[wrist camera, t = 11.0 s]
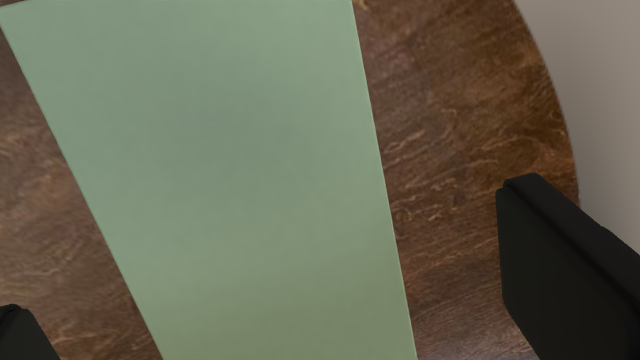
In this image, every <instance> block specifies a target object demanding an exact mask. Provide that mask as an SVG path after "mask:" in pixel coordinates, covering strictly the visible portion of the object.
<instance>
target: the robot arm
mask: <svg viewBox="0 0 640 360" xmlns="http://www.w3.org/2000/svg"><path fill="white" fill-rule="evenodd" d="M496 210H497V224H498V239H499V253H500V267H501V281H502V295H503V300H504V304H505V306H506V309H507V311H508V313H509V314H510V316H511V317H512V319H513V320H514V322H515V323H516V325H517V326H518V328H519V329H520V331H521V332H522V334H523V335H524V336H525V338H526V339H527V341H528V342H529V344H530V345H531V347H532V348H533V350H534V351H535V353H536V354H537V356H538V357H539V359H540V360H640V255H639V254H638V253H636V252H635V251H634V250H633V249H632V248H630V247H629V246H628V245H627V244H625V243H624V242H623V241H622V240H620V239H619V238H618V237H617V236H615V235H614V234H613V233H612V232H610V231H609V230H608V229H606V228H604V227H602V226H600V225H599V224H598V223H597V222H595V221H594V220H593V219H592V218H591V217H589V216H588V215H587V214H586V213H585V212H583V211H582V210H581V209H580V208H579V207H577V206H576V205H575V204H574V203H573V202H571V201H570V200H569V199H568V198H566V197H565V196H564V195H563V194H562V193H560V192H559V191H558V190H557V189H556V188H554V187H553V186H552V185H551V184H550V183H548V182H547V181H546V180H545V179H543V178H542V177H541V176H540V175H539V174H537V173H529V174H525V175H521V176H517V177H513V178H510V179H506V180H505V181H504V184H503V188H500V189H497V190H496ZM0 360H61V359H60V358H59V356H58V355H57V353H56V351H55V350H54V348H53V347H52V345H51V343H50V342H49V340H48V339H47V337H46V335H45V334H44V332H43V330H42V329H41V327H40V326H39V324H38V322H37V321H36V319H35V318H34V316H33V314H32V313H31V312H30V311H29V310H27V309H22V308H21V307H20V306H18V305H16V304H9V305H5V306H1V307H0Z"/></svg>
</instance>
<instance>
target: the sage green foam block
mask: <svg viewBox="0 0 640 360" xmlns="http://www.w3.org/2000/svg"><path fill="white" fill-rule="evenodd" d="M0 27H1V29H2V31H3V33H4V35H5V37H6V39H7V41H8V43H9V45H10V47H11V49H12V51H13V53H14V55H15V57H16V59H17V61H18V64H19V66H20V68H21V70H22V72H23V74H24V76H25V78H26V80H27V82H28V84H29V86H30V88H31V90H32V92H33V94H34V96H35V98H36V100H37V102H38V104H39V106H40V109H41V111H42V113H43V115H44V117H45V119H46V121H47V123H48V125H49V127H50V129H51V131H52V133H53V135H54V137H55V139H56V141H57V143H58V145H59V147H60V149H61V151H62V154H63V156H64V158H65V160H66V162H67V164H68V166H69V168H70V170H71V172H72V174H73V176H74V178H75V180H76V182H77V184H78V186H79V188H80V190H81V192H82V194H83V197H84V199H85V201H86V203H87V205H88V207H89V209H90V211H91V213H92V215H93V217H94V219H95V221H96V223H97V225H98V227H99V229H100V231H101V233H102V235H103V237H104V239H105V242H106V244H107V246H108V248H109V250H110V252H111V254H112V256H113V258H114V260H115V262H116V264H117V266H118V268H119V270H120V272H121V274H122V276H123V278H124V280H125V282H126V284H127V287H128V289H129V291H130V293H131V295H132V297H133V299H134V301H135V303H136V305H137V307H138V309H139V311H140V313H141V315H142V317H143V319H144V321H145V323H146V325H147V327H148V330H149V332H150V334H151V336H152V338H153V340H154V342H155V344H156V346H157V348H158V350H159V352H160V354H161V356H162V358H163V360H418V359H417V354H416V349H415V343H414V338H413V332H412V327H411V321H410V316H409V310H408V305H407V300H406V294H405V289H404V283H403V278H402V272H401V267H400V261H399V256H398V251H397V245H396V240H395V234H394V229H393V223H392V218H391V213H390V207H389V202H388V196H387V191H386V185H385V180H384V174H383V169H382V164H381V158H380V153H379V147H378V142H377V136H376V131H375V125H374V120H373V115H372V109H371V104H370V98H369V93H368V87H367V82H366V76H365V71H364V66H363V60H362V55H361V49H360V44H359V38H358V33H357V27H356V22H355V17H354V11H353V6H352V0H26V1H22V2H18V3H13V4H9V5H5V6H1V7H0Z"/></svg>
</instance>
